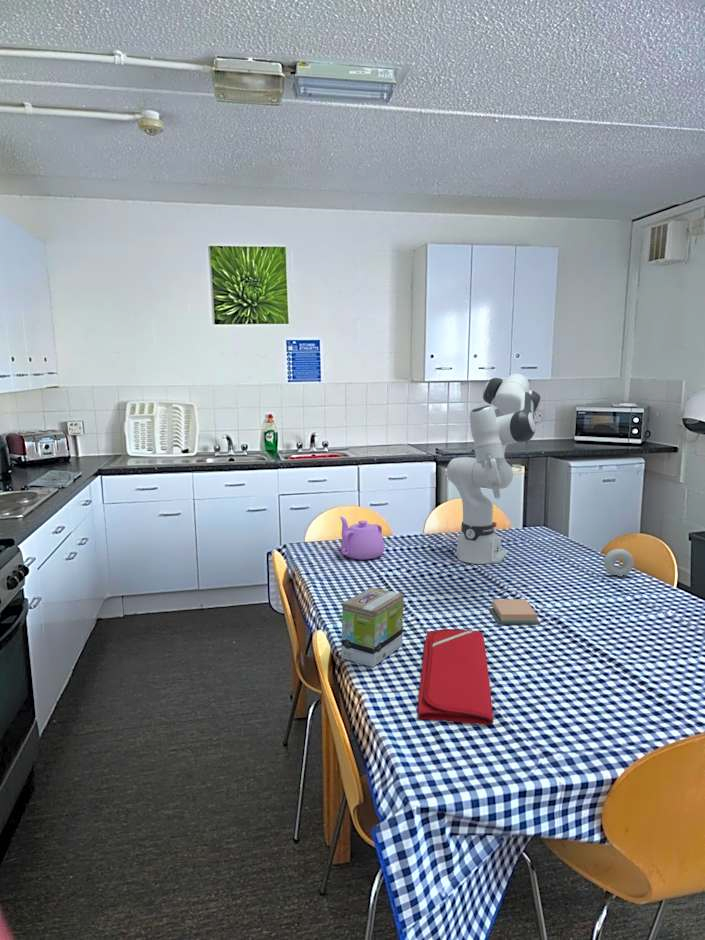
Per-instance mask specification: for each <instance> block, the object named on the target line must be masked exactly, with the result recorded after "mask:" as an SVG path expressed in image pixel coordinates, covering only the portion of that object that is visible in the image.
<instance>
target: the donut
mask: <svg viewBox="0 0 705 940" xmlns="http://www.w3.org/2000/svg"><path fill="white" fill-rule="evenodd" d="M633 557H634V556H633V555H632V554H631V553H630V552H629V551H628V550H626V549H624V548H615V549H612V550H610V551H609V552H607V554H606V555H605V557H604V560H603V566H604V568H605V571H606V572H608V574H609V575H611V574H612V575H611V576H613V575H619V577H622V576H621V575H624V576H626V575H628V574H629V573H630V572H631V571H632V570H633V568H634V564H635V561H634V558H633ZM618 559H621V560H622V561H623V562H622V565H620V566H616V565H615V562H616V560H618Z"/></svg>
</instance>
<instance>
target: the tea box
mask: <svg viewBox="0 0 705 940" xmlns="http://www.w3.org/2000/svg"><path fill="white" fill-rule="evenodd" d="M341 611H342V613H341V615H342V617H341V621H342V622H341V655H340V656H341V658H342V659H344V660H347V661H350V662H354V663H357V664H360V665H364V666H367V667H371V668H374V667H375V666H377V665H378V664H380V663H381V662H382V661H383V660H385V659H386V658H388V657H389V656H390V655H392V654H393V653H394V652H395V651H397V650H399V648H401V647H402V646H403V631H404V630H403V629H404V628H403V627H404V620H403V619H404V593H400V592H395V591H390V590H387V589H381V588H377V587H371V588H368V589H366V590H364V591H363V592H361V593H359V594H358V595H356V596H354V597H352V598H350V599H348V600H347V601H344V602H342V610H341Z"/></svg>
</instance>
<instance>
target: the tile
mask: <svg viewBox="0 0 705 940" xmlns="http://www.w3.org/2000/svg"><path fill="white" fill-rule="evenodd" d="M491 603H492V604H491V606H492V607H491V608H493V609H494V611H495V612H496V614H497V616H498V617H499V619H500V621H501V623H509V622H537V619H538V617H537V616H538V613H537V612H536V611H535V610H534V609H533V607H532V605H531V604H529V602H528V601H527V599H525V598H522V599H518V598H517V599H515V598H513V599H512V598H511V599H508V598H507V599H505V598H503V599H501V598H500V599H499V598H498V599H497V598H495V599H492V600H491Z"/></svg>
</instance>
